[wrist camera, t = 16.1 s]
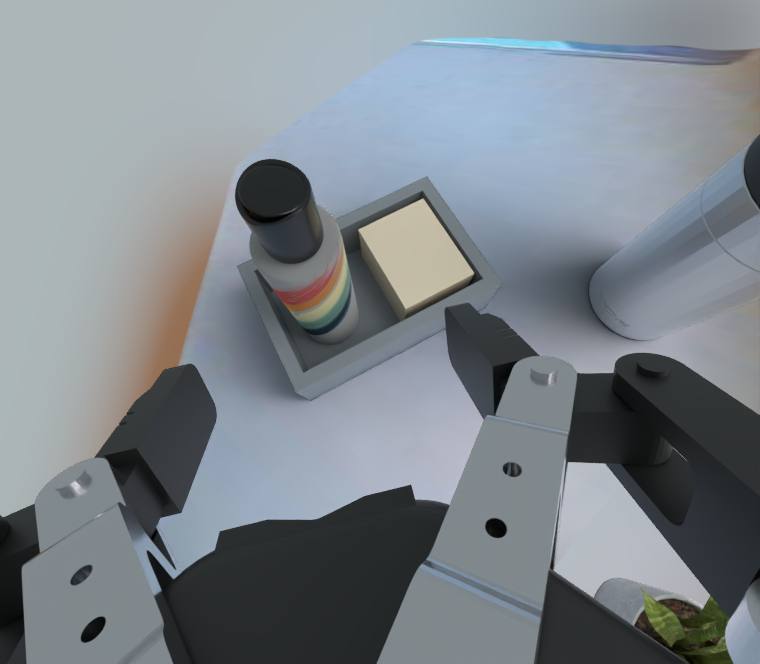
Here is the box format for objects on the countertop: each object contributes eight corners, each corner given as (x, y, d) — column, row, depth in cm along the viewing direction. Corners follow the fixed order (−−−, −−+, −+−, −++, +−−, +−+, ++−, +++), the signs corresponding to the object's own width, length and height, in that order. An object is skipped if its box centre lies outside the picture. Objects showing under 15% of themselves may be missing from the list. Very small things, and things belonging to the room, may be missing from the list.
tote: (421, 213, 41) (427, 176, 35) (484, 307, 38) (502, 283, 32) (259, 292, 39) (236, 266, 33) (310, 400, 35) (295, 392, 29)
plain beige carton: (418, 227, 39) (423, 198, 35) (463, 295, 37) (474, 273, 32) (361, 255, 39) (358, 229, 34) (403, 326, 36) (405, 309, 31)
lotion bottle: (293, 308, 37) (192, 168, 18) (342, 282, 38) (296, 120, 18) (318, 355, 35) (238, 258, 16) (369, 328, 36) (349, 203, 17)
